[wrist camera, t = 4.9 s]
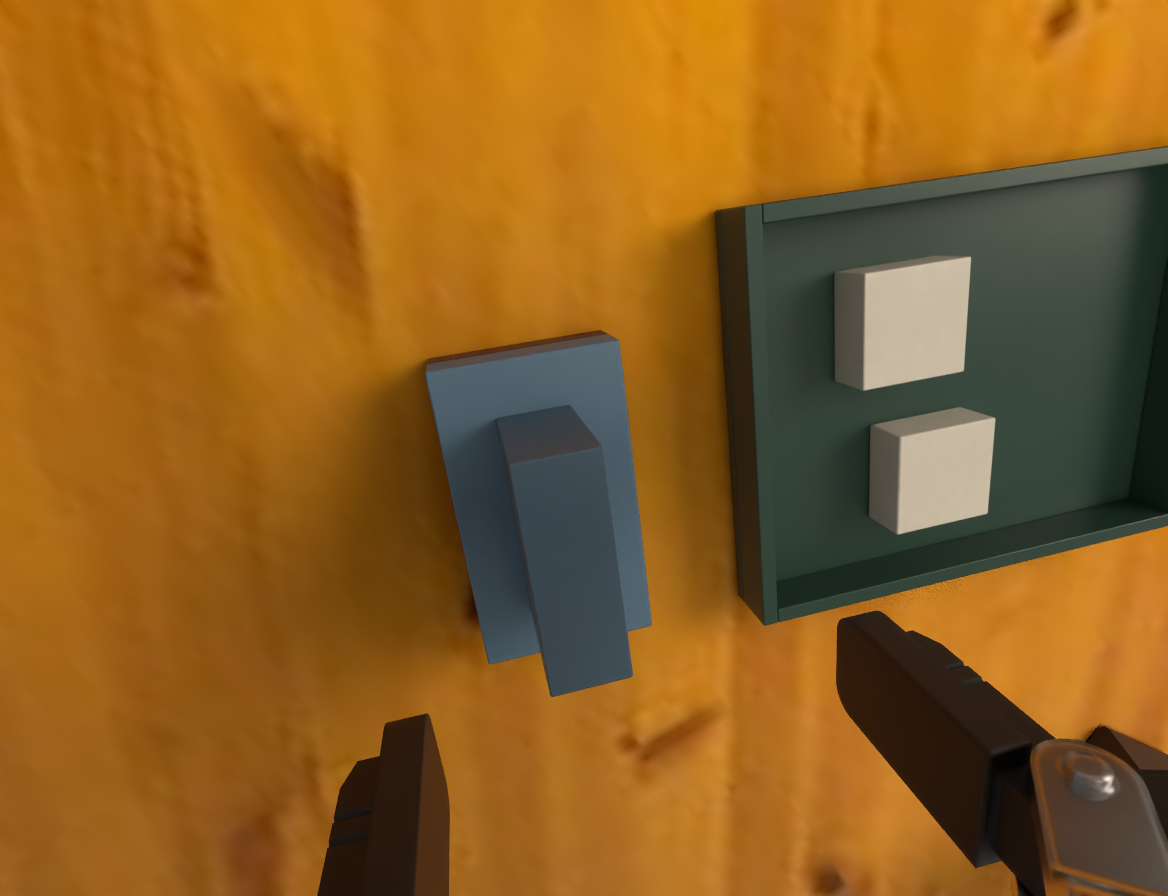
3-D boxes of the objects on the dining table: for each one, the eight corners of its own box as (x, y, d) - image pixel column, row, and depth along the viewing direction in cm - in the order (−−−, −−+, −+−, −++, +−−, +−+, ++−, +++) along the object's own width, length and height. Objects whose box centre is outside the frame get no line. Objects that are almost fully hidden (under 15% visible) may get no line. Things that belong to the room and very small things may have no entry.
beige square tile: (867, 516, 26) (897, 535, 24) (869, 424, 24) (900, 437, 23) (954, 497, 26) (988, 514, 25) (960, 406, 25) (996, 417, 23)
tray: (738, 595, 26) (764, 626, 24) (714, 210, 21) (744, 206, 19) (1126, 503, 29) (1180, 523, 27) (1184, 144, 24) (1256, 133, 22)
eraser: (484, 625, 24) (497, 764, 18) (426, 358, 21) (416, 408, 14) (633, 591, 25) (698, 710, 19) (601, 329, 22) (666, 364, 15)
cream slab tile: (833, 381, 24) (863, 391, 22) (833, 271, 22) (864, 273, 21) (928, 363, 24) (964, 371, 23) (933, 255, 23) (972, 256, 21)
